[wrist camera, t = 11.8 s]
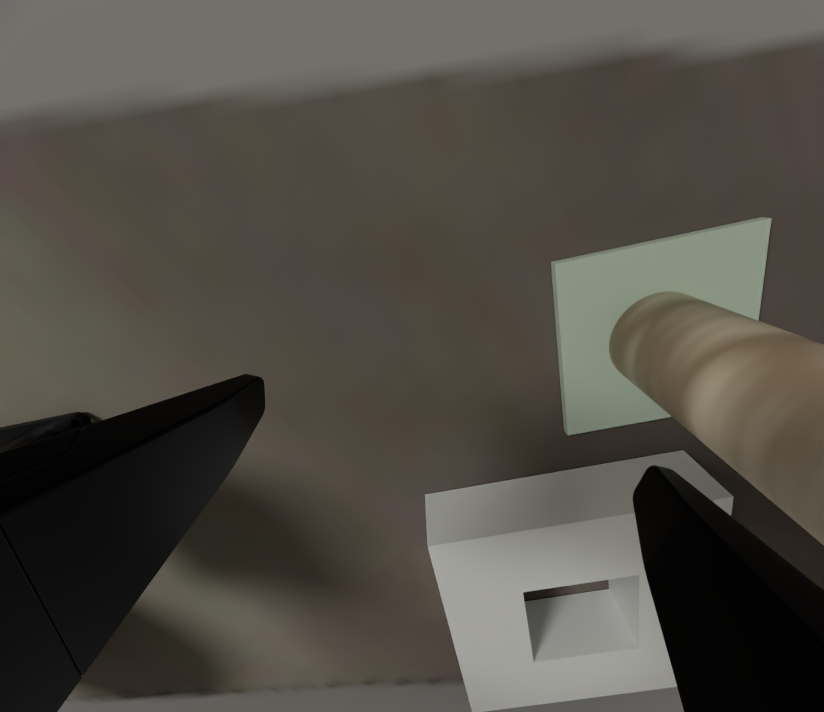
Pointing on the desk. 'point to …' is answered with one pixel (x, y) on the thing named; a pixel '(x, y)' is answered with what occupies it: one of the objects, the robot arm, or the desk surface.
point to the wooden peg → (734, 392)
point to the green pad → (628, 283)
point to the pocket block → (553, 583)
